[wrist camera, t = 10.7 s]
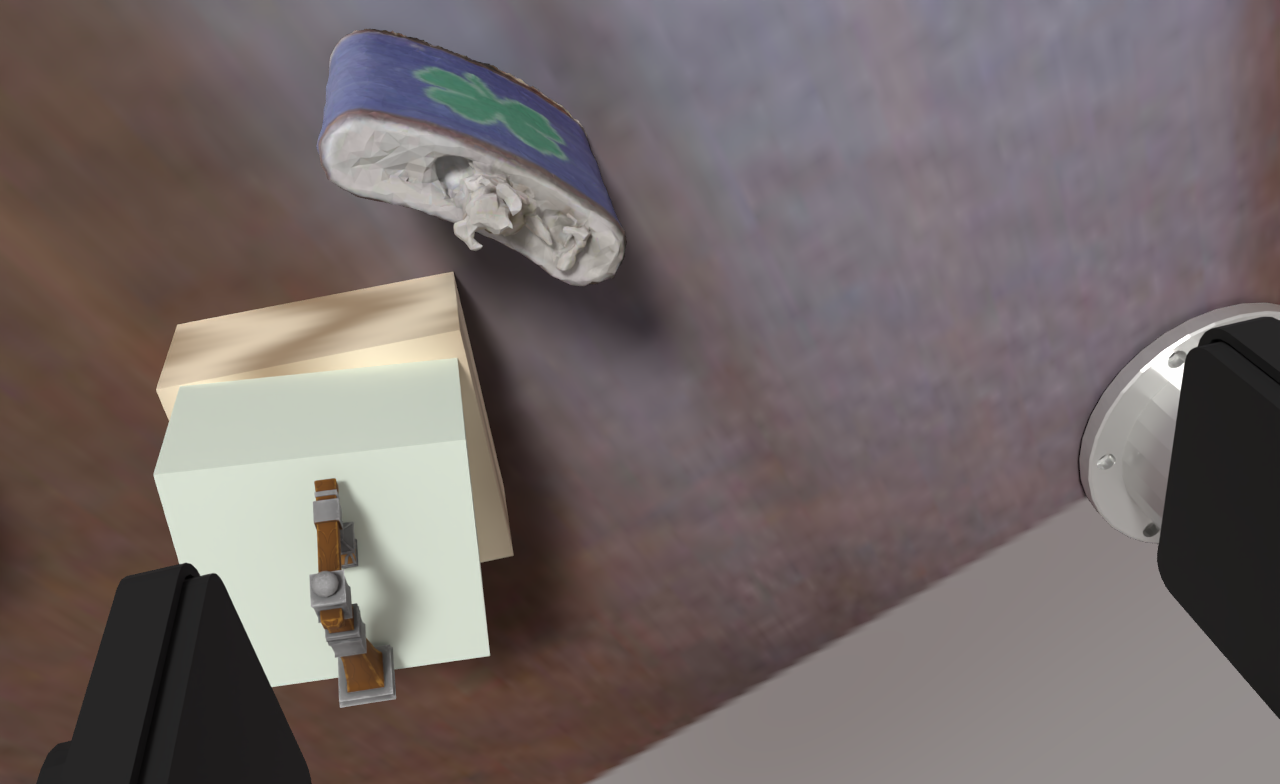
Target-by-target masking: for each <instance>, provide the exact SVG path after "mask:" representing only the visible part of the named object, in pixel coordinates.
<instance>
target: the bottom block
mask: <svg viewBox="0 0 1280 784" xmlns="http://www.w3.org/2000/svg"><path fill="white" fill-rule="evenodd" d="M450 358H457V360H458V369H459V378H460V386H461V395H462V404H463V413H464V422H465V431H466V440H467V449H468V457H469V466H470V475H471V484H472V493H473V502H474V511H475V520H476V528H477V537H478V546H479V555H480V563H481V562H486V561H491V560H495V559H500V558H504V557H509V556H514V554H513V548H512V541H511V534H510V527H509V520H508V513H507V506H506V499H505V492H504V485H503V481H502V477H501V473H500V468H499V464H498V460H497V455H496V451H495V447H494V443H493V438H492V434H491V430H490V426H489V421H488V417H487V413H486V409H485V404H484V400H483V396H482V391H481V387H480V383H479V379H478V374H477V370H476V366H475V362H474V357H473V353H472V349H471V345H470V340H469V336H468V332H467V327H466V323H465V319H464V315H463V310H462V306H461V302H460V298H459V293H458V289H457V285H456V281H455V276H454V272H448V273H443V274H438V275H433V276H428V277H422V278H417V279H412V280H407V281H402V282H396V283H391V284H386V285H381V286H376V287H370V288H365V289H360V290H355V291H350V292H345V293H339V294H334V295H329V296H324V297H319V298H313V299H308V300H303V301H298V302H293V303H287V304H282V305H277V306H272V307H267V308H261V309H256V310H251V311H246V312H241V313H235V314H230V315H225V316H220V317H215V318H209V319H204V320H199V321H194V322H189V323H183V324H178V325H177V327H176V330H175V333H174V337H173V340H172V343H171V346H170V349H169V352H168V355H167V358H166V361H165V364H164V367H163V370H162V373H161V376H160V379H159V382H158V385H157V388H156V391H157V393H158V396H159V398H160V400H161V403H162V405H163V407H164V410H165V412H166V415H167V417H168V419H169V421H170V418H171V414H172V411H173V407H174V404H175V401H176V397H177V394H178V391H179V387H180V386H187V385H197V384H206V383H216V382H226V381H236V380H245V379H255V378H265V377H275V376H284V375H294V374H304V373H314V372H323V371H333V370H343V369H352V368H362V367H372V366H382V365H391V364H401V363H411V362H421V361H430V360H440V359H450Z"/></svg>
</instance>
